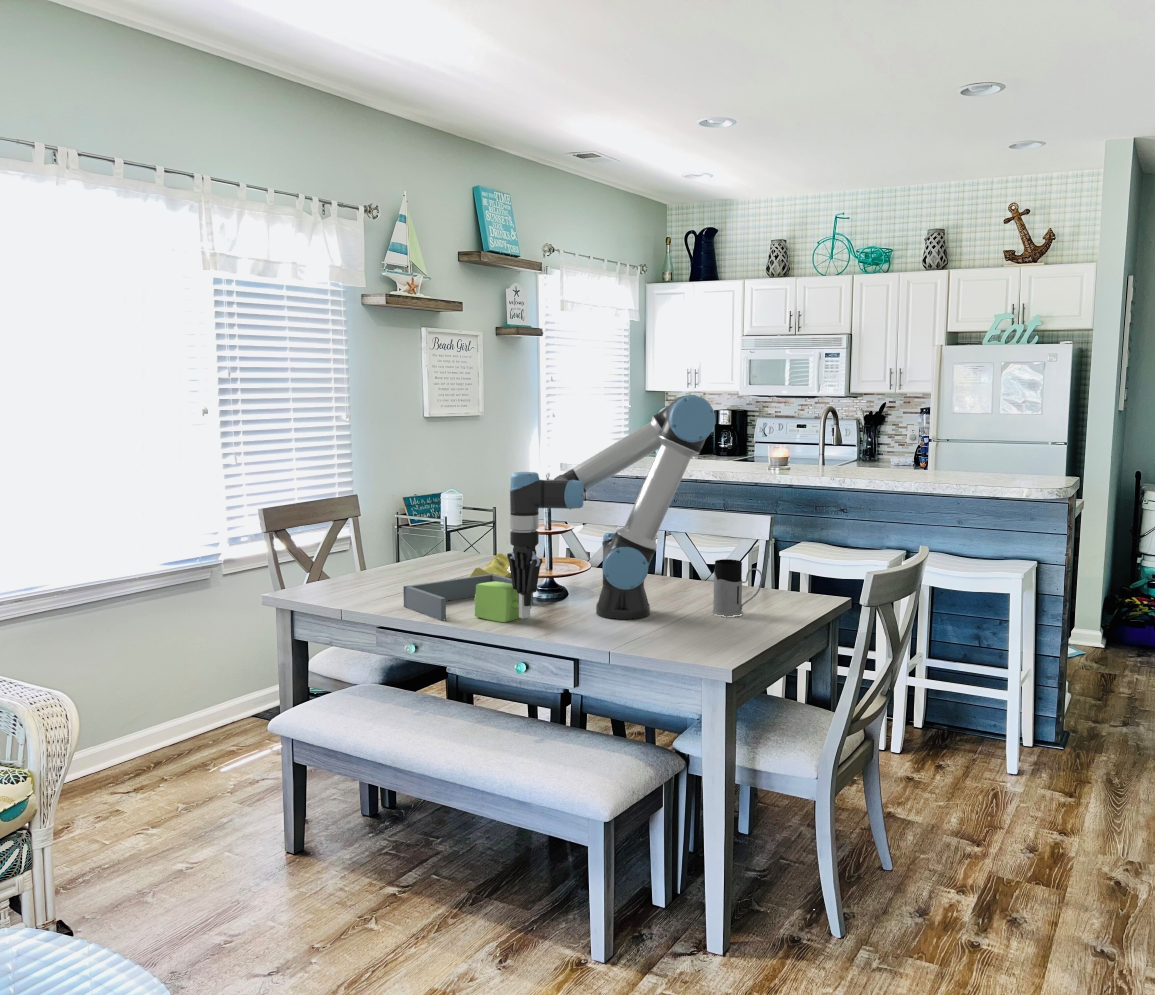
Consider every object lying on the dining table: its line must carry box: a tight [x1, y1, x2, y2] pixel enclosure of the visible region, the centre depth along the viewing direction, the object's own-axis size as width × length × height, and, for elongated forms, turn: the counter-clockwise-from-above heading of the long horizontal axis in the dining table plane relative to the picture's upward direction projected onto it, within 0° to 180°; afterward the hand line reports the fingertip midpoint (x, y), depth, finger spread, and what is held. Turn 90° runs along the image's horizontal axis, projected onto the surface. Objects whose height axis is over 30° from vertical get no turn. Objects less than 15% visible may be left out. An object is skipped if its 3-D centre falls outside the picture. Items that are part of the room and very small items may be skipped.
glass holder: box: [711, 558, 763, 616], centre depth 263 cm, size 9×14×15 cm, turn 62°
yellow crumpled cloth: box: [469, 552, 511, 578], centre depth 312 cm, size 20×7×10 cm
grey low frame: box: [402, 574, 534, 621], centre depth 274 cm, size 21×31×6 cm
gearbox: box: [474, 581, 532, 623], centre depth 260 cm, size 18×10×10 cm, turn 57°
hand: (524, 617), depth 252 cm, fingers closed
